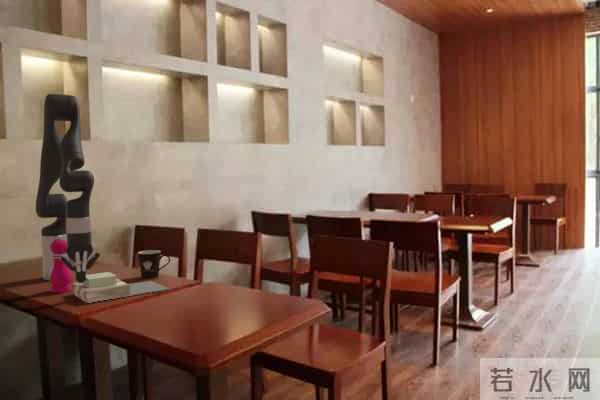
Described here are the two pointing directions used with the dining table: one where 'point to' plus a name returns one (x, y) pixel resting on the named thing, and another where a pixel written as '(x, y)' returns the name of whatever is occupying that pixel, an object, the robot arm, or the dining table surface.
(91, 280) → the green tile
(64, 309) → the dining table surface
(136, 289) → the slate mat
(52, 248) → the pepper mill
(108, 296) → the block
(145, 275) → the coffee mug
